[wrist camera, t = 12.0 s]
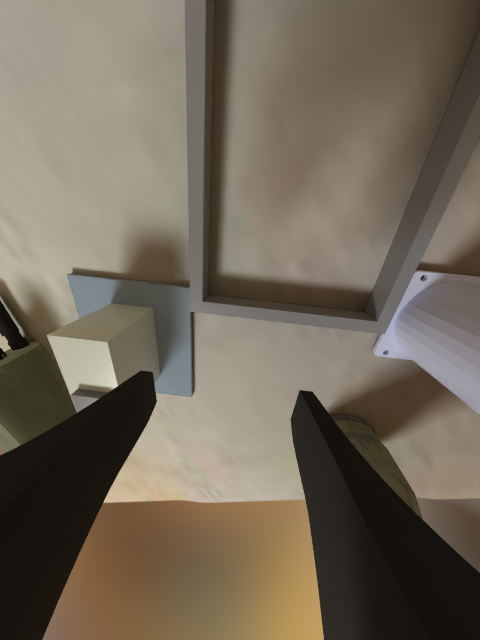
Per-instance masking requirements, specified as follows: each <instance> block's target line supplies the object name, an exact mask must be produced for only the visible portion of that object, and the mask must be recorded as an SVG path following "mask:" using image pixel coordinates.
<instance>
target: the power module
mask: <svg viewBox="0 0 480 640" xmlns="http://www.w3.org/2000/svg"><path fill="white" fill-rule="evenodd" d="M47 337H48V340H49V342H50V345H51V347H52V350H53V352H54V355H55V357H56V360H57V363H58V365H59V368H60V370H61V373H62V375H63V378H64V380H65V383H66V385H67V388H68V391H69V393H70V396H71V398H72V401H73V403H74V406H75V408H76V411H77V412H79V411H81V410H82V409H84V408H85V407H87V406H89V405H90V404H92V403H93V402H95V401H96V400H98V399H99V398H101V397H102V396H104V395H105V394H107V393H108V392H110V391H111V390H113V389H114V388H116V387H117V386H119V385H120V384H121V383H123V382H124V381H126V380H127V379H129V378H130V377H132V376H133V375H135V374H136V373H138V372H139V371H141V370H142V371H150V372H153V377H154V384H155V383H156V381H157V380H158V378H159V377H160V368H159V359H158V350H157V341H156V332H155V323H154V314H153V308H147V307H139V306H130V305H121V304H112V303H110V304H108V305H106V306H104V307H102V308H100V309H98V310H96V311H94V312H92V313H90V314H88V315H86V316H84V317H82V318H80V319H78V320H76V321H74V322H72V323H70V324H68V325H66V326H64V327H62V328H60V329H58V330H56V331H54V332H52V333H50V334H48V335H47Z"/></svg>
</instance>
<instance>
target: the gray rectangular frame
mask: <svg viewBox="0 0 480 640" xmlns="http://www.w3.org/2000/svg"><path fill="white" fill-rule="evenodd" d="M214 20H215V0H185V38H186V95H187V151H188V208H189V265H190V312H198V313H207V314H215V315H224V316H233V317H241V318H250V319H258V320H267V321H276V322H284V323H293V324H301V325H310V326H319V327H327V328H336V329H344V330H353V331H362V332H370V333H379V334H385V333H386V331H387V329H388V327H389V325H390V323H391V321H392V319H393V317H394V314H395V312H396V310H397V308H398V306H399V304H400V302H401V300H402V298H403V296H404V294H405V292H406V290H407V288H408V286H409V283H410V281H411V279H412V277H413V275H414V273H415V271H416V269H417V267H418V265H419V263H420V261H421V259H422V257H423V254H424V252H425V250H426V248H427V246H428V244H429V242H430V240H431V238H432V236H433V234H434V232H435V230H436V228H437V225H438V223H439V221H440V219H441V217H442V215H443V213H444V211H445V209H446V207H447V205H448V203H449V201H450V199H451V197H452V194H453V192H454V190H455V188H456V186H457V184H458V182H459V180H460V178H461V176H462V174H463V172H464V170H465V168H466V165H467V163H468V161H469V159H470V157H471V155H472V153H473V151H474V149H475V147H476V145H477V143H478V141H479V139H480V29H479V31H478V34H477V36H476V39H475V41H474V43H473V46H472V48H471V51H470V53H469V56H468V58H467V61H466V63H465V66H464V68H463V71H462V73H461V75H460V78H459V80H458V83H457V85H456V88H455V90H454V93H453V95H452V98H451V100H450V103H449V105H448V107H447V110H446V112H445V115H444V117H443V120H442V122H441V125H440V127H439V130H438V132H437V134H436V137H435V139H434V142H433V144H432V147H431V149H430V152H429V154H428V157H427V159H426V162H425V164H424V166H423V169H422V171H421V174H420V176H419V179H418V181H417V184H416V186H415V189H414V191H413V193H412V196H411V198H410V201H409V203H408V206H407V208H406V211H405V213H404V216H403V218H402V221H401V223H400V225H399V228H398V230H397V233H396V235H395V238H394V240H393V243H392V245H391V248H390V250H389V253H388V255H387V257H386V260H385V262H384V265H383V267H382V270H381V272H380V275H379V277H378V280H377V282H376V284H375V287H374V289H373V292H372V294H371V297H370V299H369V302H368V304H367V307H366V309H365V312H359V311H351V310H342V309H333V308H324V307H315V306H307V305H298V304H289V303H280V302H272V301H263V300H254V299H245V298H236V297H228V296H219V295H210V294H208V268H209V227H210V185H211V144H212V103H213V61H214Z"/></svg>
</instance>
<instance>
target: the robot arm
mask: <svg viewBox="0 0 480 640" xmlns="http://www.w3.org/2000/svg"><path fill="white" fill-rule="evenodd" d="M423 275H424V277H423V279H421V280H420V278H421V277H422V276H423ZM384 351H386V352H384ZM383 352H384V353H383ZM373 353H374V354H375V355H376V356H381V357H389V358H398V359H406V360H413V361H414V362H416V363H417V364H418V365H419V366H420V367H422V368H423V369H424V370H425V371H427V372H428V373H429V374H430V375H431V376H433V377H434V378H435V379H436V380H438V381H439V382H440V383H441V384H443V385H444V386H445V387H446V388H447V389H449V390H450V391H451V392H452V393H454V394H455V395H456V396H457V397H459V398H460V399H461V400H462V401H463V402H465V403H466V404H467V405H468V406H470V407H471V408H472V409H473V410H475V411H476V412H477V413H478V414H479V415H480V277H478V276H469V275H459V274H450V273H441V272H432V271H422V270H416V271H415V273H414V275H413V277H412V279H411V281H410V283H409V286H408V288H407V290H406V292H405V294H404V296H403V298H402V300H401V302H400V304H399V306H398V308H397V310H396V312H395V314H394V317H393V319H392V321H391V323H390V325H389V327H388V329H387V331H386V333H385V334H380V336H379V338H378V340H377V342H376V344H375V346H374V349H373ZM156 402H157V400H156V392H155V384H154V377H153V372H150V371H142V370H141V371H139V372H138V373H136V374H135V375H133V376H132V377H130V378H129V379H127V380H126V381H124V382H123V383H121V384H120V385H119V386H117V387H116V388H114V389H113V390H111V391H110V392H108V393H107V394H105V395H104V396H102V397H101V398H99V399H98V400H96V401H95V402H93V403H92V404H90V405H89V406H87V407H85V408H84V409H82V410H81V411H79V412H77V413H76V414H74V415H73V416H71V417H69V418H68V419H66V420H65V421H63V422H61V423H60V424H58V425H56V426H54V427H53V428H51V429H49V430H47V431H46V432H44V433H42V434H40V435H38V436H37V437H35V438H33V439H31V440H29V441H28V442H26V443H24V444H22V445H20V446H18V447H16V448H14V449H12V450H10V451H8V452H6V453H4V454H2V455H0V640H42V639H43V636H44V634H45V632H46V629H47V627H48V624H49V622H50V620H51V617H52V615H53V612H54V610H55V607H56V605H57V603H58V600H59V598H60V596H61V594H62V591H63V589H64V587H65V584H66V582H67V580H68V578H69V575H70V573H71V571H72V569H73V566H74V564H75V562H76V560H77V557H78V555H79V552H80V551H81V548H82V546H83V544H84V542H85V540H86V538H87V536H88V533H89V531H90V529H91V527H92V524H93V523H94V521H95V518H96V516H97V514H98V512H99V510H100V508H101V506H102V504H103V502H104V500H105V498H106V496H107V494H108V492H109V490H110V488H111V486H112V484H113V482H114V480H115V478H116V476H117V475H118V473H119V471H120V470H121V468H122V466H123V464H124V463H125V461H126V459H127V458H128V456H129V454H130V452H131V451H132V449H133V447H134V446H135V444H136V442H137V440H138V439H139V437H140V435H141V433H142V432H143V430H144V428H145V426H146V425H147V423H148V421H149V419H150V416H151V414H152V412H153V410H154V407H155V405H156ZM291 427H292V436H293V443H294V448H295V453H296V458H297V462H298V467H299V471H300V476H301V481H302V485H303V490H304V494H305V499H306V504H307V509H308V515H309V522H310V529H311V536H312V543H313V550H314V558H315V565H316V573H317V581H318V589H319V598H320V607H321V615H322V625H323V633H324V640H480V573H479V572H478V571H477V570H476V569H475V568H473V567H472V566H471V565H470V564H469V563H468V562H467V561H466V560H465V559H464V558H462V557H461V556H460V555H459V554H458V553H457V552H456V551H455V550H454V549H453V548H452V547H451V546H450V545H448V544H447V543H446V542H445V541H444V540H443V539H442V538H441V537H440V536H439V535H438V534H437V533H436V532H435V531H434V530H433V529H432V528H431V527H430V526H429V525H428V524H427V523H426V522H425V521H423V520H422V519H421V518H420V517H419V516H418V515H417V514H416V513H415V512H414V511H413V510H412V509H411V508H410V507H409V506H408V505H407V504H406V503H405V502H404V501H403V500H402V499H401V498H400V497H399V496H398V494H397V493H396V492H395V491H394V490H393V489H392V488H391V487H390V486H389V485H388V484H387V483H386V482H385V481H384V480H383V479H382V478H381V476H380V475H379V474H378V473H377V472H376V471H375V470H374V469H373V468H372V467H371V465H370V464H369V463H368V462H367V461H366V460H365V458H364V457H363V456H362V455H361V454H360V453H359V451H358V450H357V449H356V448H355V447H354V445H353V444H352V443H351V442H350V441H349V439H348V438H347V437H346V435H345V434H344V433H343V432H342V430H341V429H340V428H339V427H338V425H337V424H336V423H335V421H334V420H333V419H332V417H331V416H330V415H329V413H328V412H327V411H326V409H325V408H324V407H323V405H322V404H321V403H320V401H319V400H318V399H317V397H316V396H315V395H314V393H313V392H310V391H302V390H300V391H299V394H298V397H297V401H296V404H295V407H294V410H293V414H292V417H291Z"/></svg>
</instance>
